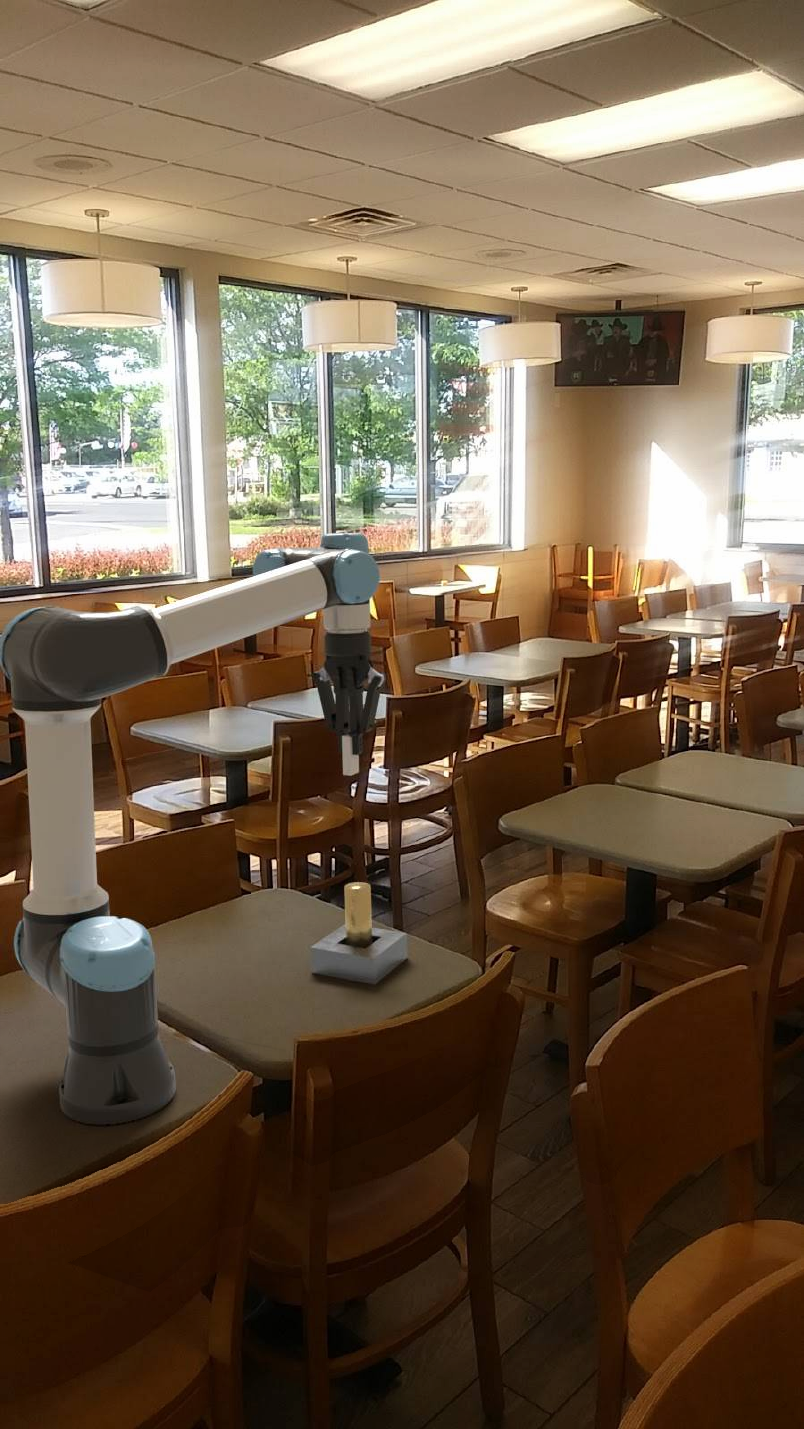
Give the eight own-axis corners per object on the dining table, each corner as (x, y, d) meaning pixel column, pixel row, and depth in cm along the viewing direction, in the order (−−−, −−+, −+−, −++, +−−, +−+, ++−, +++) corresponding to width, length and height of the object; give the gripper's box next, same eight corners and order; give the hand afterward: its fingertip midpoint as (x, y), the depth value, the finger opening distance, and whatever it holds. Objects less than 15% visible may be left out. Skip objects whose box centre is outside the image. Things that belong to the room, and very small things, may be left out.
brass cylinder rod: (365, 972, 192) (362, 892, 189) (342, 967, 194) (339, 888, 191) (377, 962, 196) (375, 884, 193) (354, 958, 198) (352, 880, 195)
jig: (374, 984, 187) (373, 958, 186) (311, 972, 192) (310, 947, 191) (407, 957, 197) (406, 933, 196) (346, 947, 202) (345, 923, 202)
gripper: (394, 629, 184) (396, 772, 188) (324, 626, 190) (328, 765, 194) (372, 634, 178) (375, 782, 182) (300, 631, 183) (305, 774, 188)
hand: (351, 773), depth 188 cm, fingers closed
